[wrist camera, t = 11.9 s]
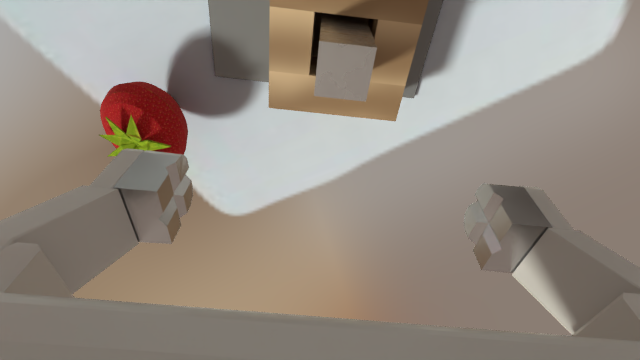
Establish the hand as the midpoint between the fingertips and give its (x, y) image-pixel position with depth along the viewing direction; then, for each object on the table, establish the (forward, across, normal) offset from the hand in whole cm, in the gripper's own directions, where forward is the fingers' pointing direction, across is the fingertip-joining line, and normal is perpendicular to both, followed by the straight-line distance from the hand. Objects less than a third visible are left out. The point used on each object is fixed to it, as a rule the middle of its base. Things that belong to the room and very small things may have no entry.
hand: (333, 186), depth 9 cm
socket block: (+21, -1, +1) cm, 21 cm away
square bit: (+21, -1, +1) cm, 21 cm away
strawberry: (+22, +14, +9) cm, 27 cm away
